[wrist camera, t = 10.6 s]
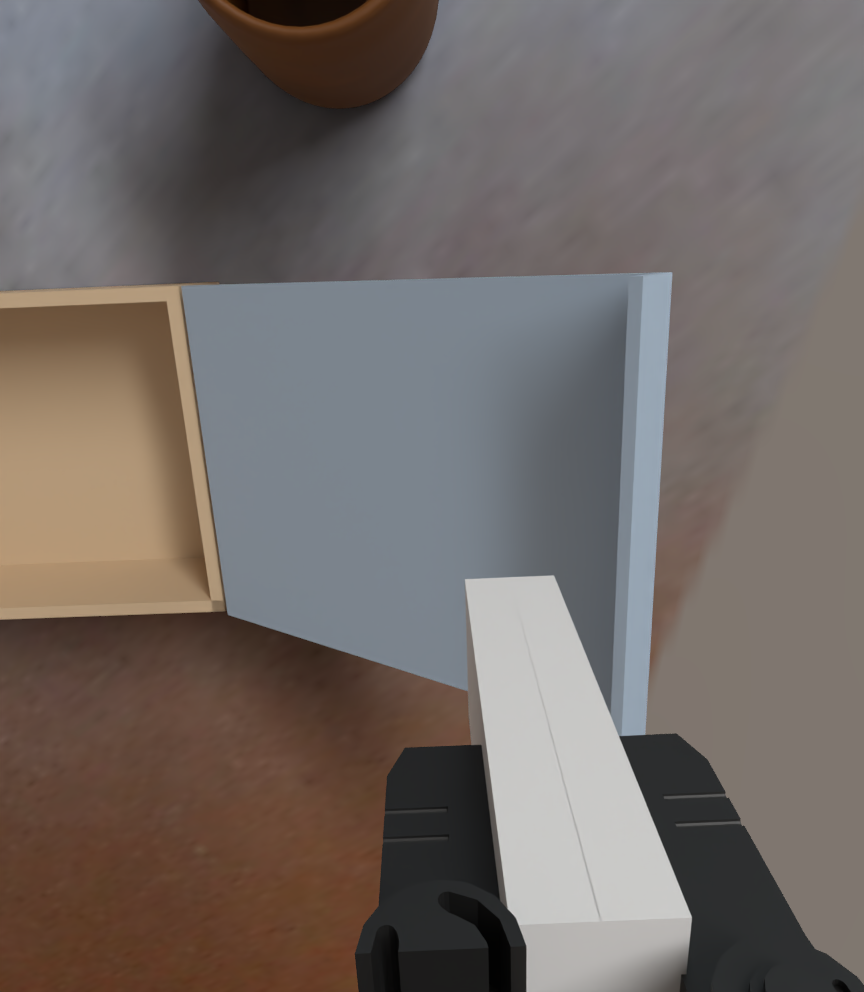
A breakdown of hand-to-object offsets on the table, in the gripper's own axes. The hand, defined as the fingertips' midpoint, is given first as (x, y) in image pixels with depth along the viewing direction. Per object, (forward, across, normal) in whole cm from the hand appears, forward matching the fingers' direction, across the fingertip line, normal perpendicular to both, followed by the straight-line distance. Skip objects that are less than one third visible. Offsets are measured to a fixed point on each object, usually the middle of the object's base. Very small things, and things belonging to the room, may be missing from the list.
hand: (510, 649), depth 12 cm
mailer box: (+21, -18, -1) cm, 27 cm away
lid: (+9, -4, -1) cm, 10 cm away
